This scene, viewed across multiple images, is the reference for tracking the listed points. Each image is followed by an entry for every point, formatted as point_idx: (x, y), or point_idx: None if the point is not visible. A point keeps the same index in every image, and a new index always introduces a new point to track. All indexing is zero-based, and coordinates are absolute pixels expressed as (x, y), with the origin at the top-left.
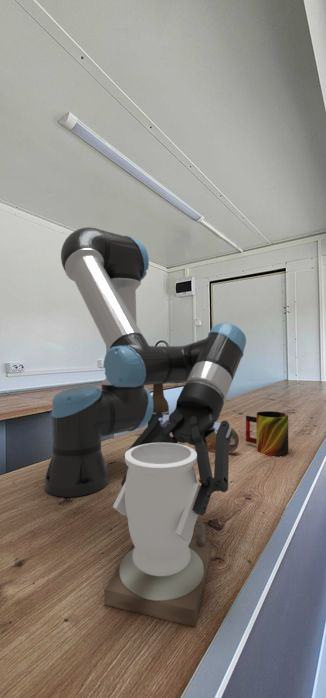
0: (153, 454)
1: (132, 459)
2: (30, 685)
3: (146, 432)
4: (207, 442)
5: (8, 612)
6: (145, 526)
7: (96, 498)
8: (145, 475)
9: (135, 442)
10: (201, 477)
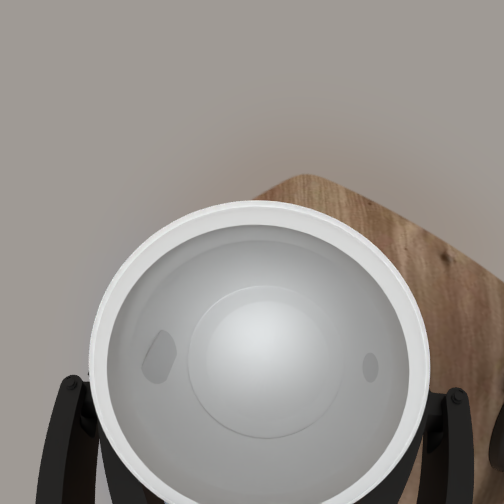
0: (361, 452)
1: (312, 226)
2: (292, 181)
3: (457, 501)
4: None
5: (383, 209)
6: (246, 275)
7: (482, 427)
8: (233, 237)
9: (469, 445)
10: None
